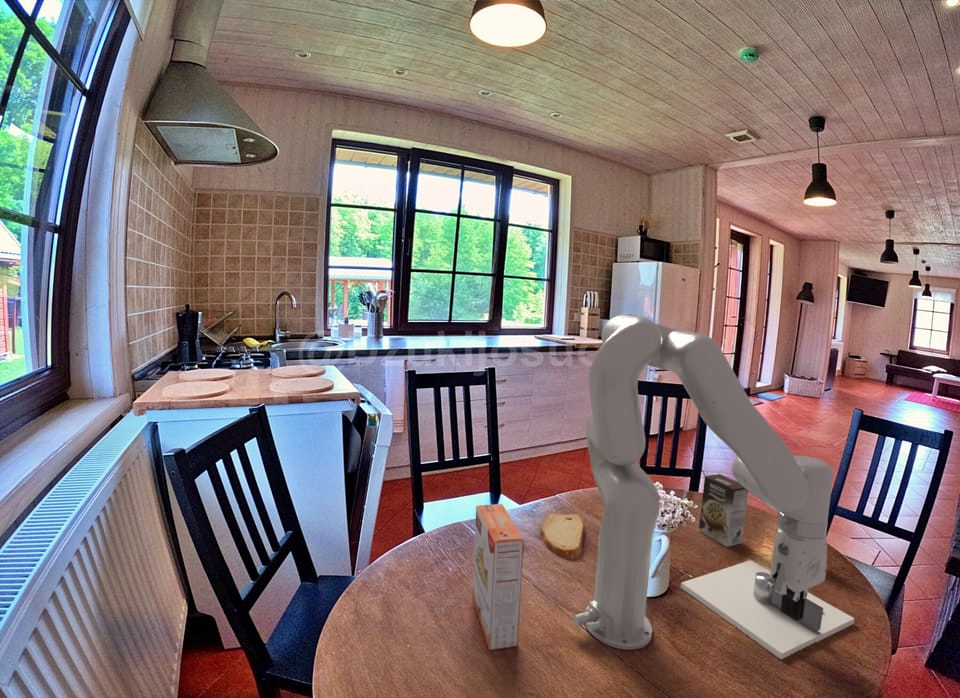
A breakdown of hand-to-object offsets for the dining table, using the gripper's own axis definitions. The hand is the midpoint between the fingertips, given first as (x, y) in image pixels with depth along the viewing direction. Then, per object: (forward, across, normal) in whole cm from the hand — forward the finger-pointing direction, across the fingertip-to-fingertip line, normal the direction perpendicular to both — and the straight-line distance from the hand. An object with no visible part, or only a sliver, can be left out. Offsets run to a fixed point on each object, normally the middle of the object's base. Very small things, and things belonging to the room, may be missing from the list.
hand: (791, 615), depth 88 cm
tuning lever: (+3, +5, +4) cm, 7 cm away
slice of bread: (+4, -18, +47) cm, 51 cm away
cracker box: (+4, -51, +25) cm, 57 cm away
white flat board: (+5, +5, +8) cm, 11 cm away
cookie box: (+5, +22, +31) cm, 39 cm away
